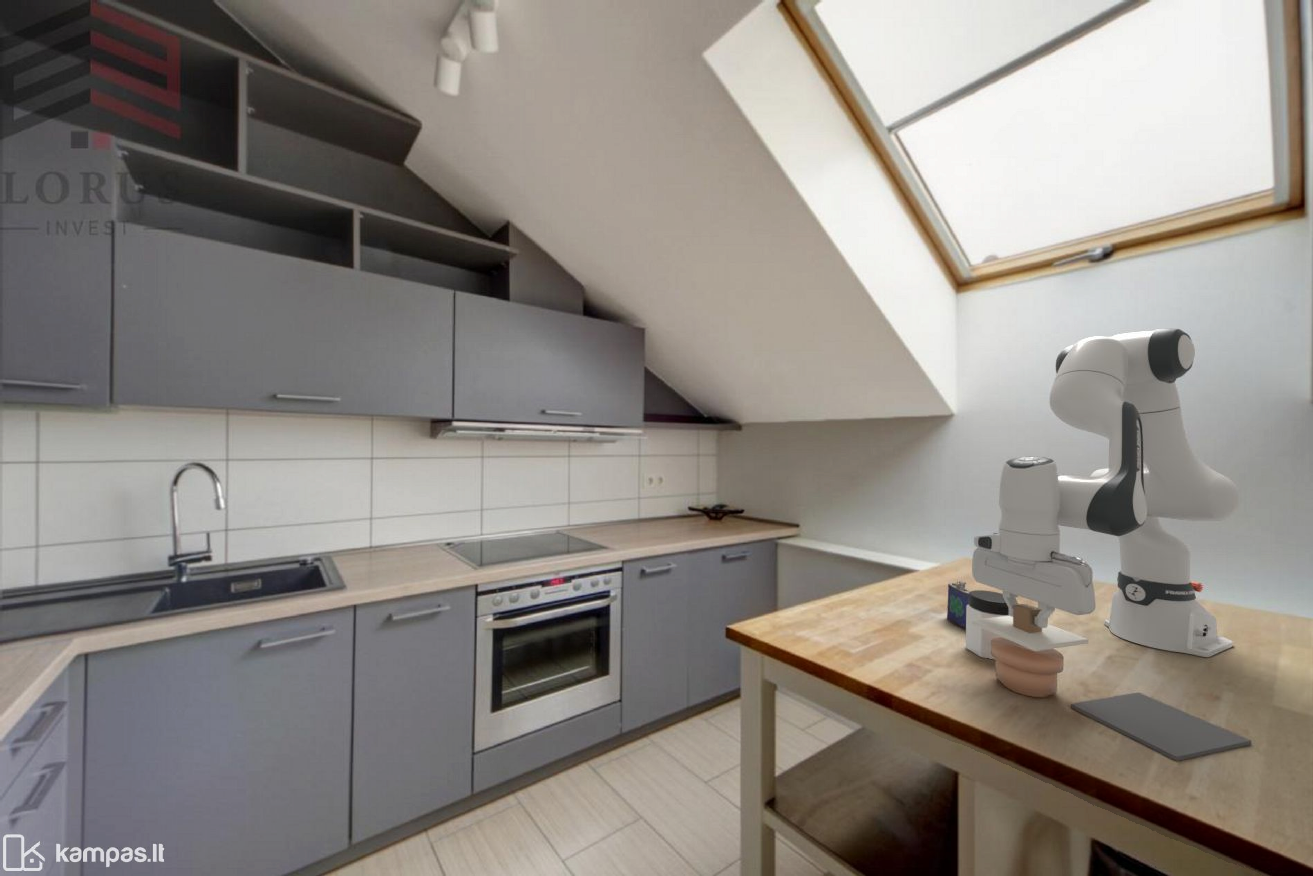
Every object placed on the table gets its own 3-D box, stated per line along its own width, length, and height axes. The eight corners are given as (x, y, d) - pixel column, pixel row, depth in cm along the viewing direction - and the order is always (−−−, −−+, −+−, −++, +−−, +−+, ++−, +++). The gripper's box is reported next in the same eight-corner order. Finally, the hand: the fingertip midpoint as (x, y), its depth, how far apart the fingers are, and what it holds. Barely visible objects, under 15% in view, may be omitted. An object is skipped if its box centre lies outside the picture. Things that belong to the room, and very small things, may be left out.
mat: (1138, 695, 87) (1138, 692, 87) (1251, 744, 73) (1251, 740, 73) (1070, 707, 83) (1070, 703, 83) (1176, 761, 69) (1176, 756, 69)
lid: (1020, 618, 96) (1021, 594, 96) (1088, 643, 85) (1088, 616, 85) (972, 624, 93) (972, 599, 93) (1035, 651, 82) (1035, 622, 82)
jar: (1003, 665, 98) (1004, 605, 98) (959, 650, 104) (960, 594, 104) (1022, 655, 103) (1023, 598, 102) (979, 641, 109) (980, 587, 109)
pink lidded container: (1019, 670, 96) (1020, 634, 96) (1078, 698, 85) (1079, 659, 85) (976, 676, 93) (976, 639, 93) (1031, 706, 83) (1032, 665, 83)
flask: (980, 632, 114) (980, 586, 114) (967, 632, 114) (968, 586, 114) (954, 617, 123) (954, 575, 123) (942, 618, 123) (943, 575, 123)
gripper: (1106, 559, 80) (1105, 643, 80) (991, 534, 100) (990, 601, 100) (1077, 561, 78) (1076, 648, 78) (966, 535, 98) (965, 604, 98)
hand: (1027, 621), depth 89 cm, fingers closed on lid, 3 cm apart
